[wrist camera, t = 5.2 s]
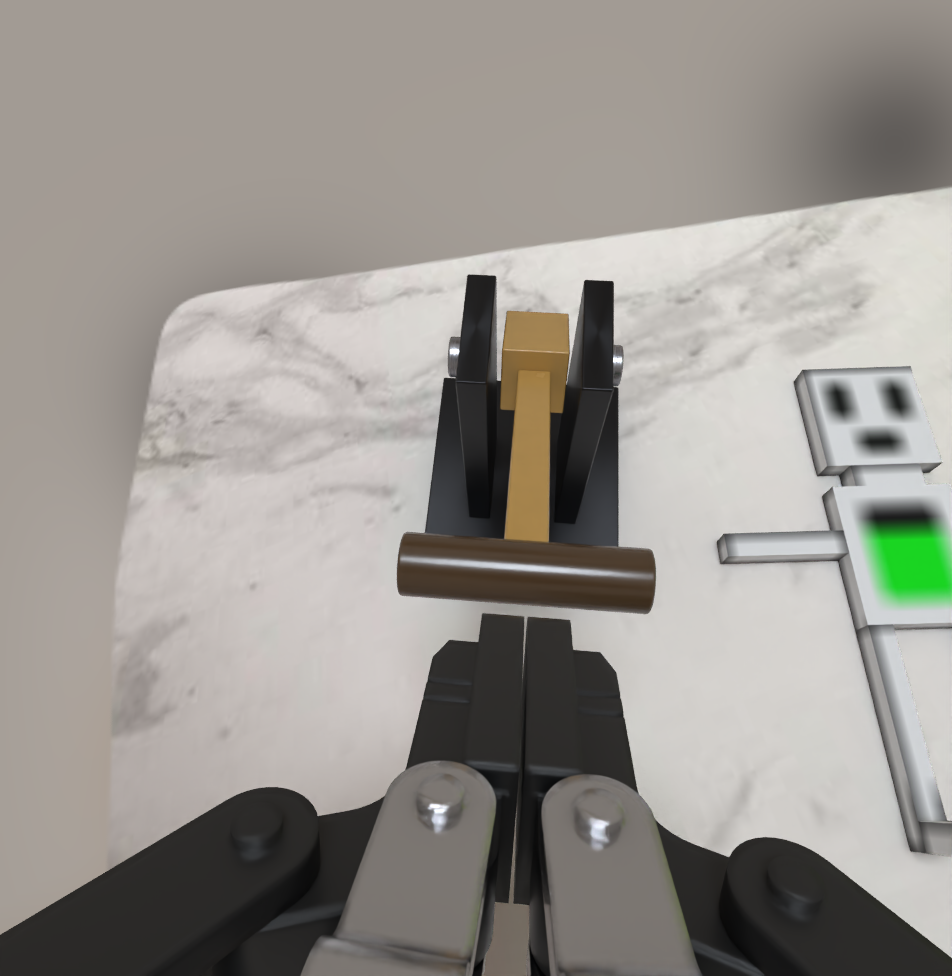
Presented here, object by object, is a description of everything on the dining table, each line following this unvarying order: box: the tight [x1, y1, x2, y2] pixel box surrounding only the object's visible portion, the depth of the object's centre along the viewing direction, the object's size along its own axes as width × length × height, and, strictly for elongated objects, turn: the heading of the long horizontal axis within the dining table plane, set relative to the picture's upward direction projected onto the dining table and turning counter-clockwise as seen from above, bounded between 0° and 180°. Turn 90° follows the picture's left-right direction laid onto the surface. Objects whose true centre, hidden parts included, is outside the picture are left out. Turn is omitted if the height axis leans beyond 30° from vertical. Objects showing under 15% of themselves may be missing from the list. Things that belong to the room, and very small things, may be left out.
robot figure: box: [717, 366, 952, 857], centre depth 30 cm, size 16×3×22 cm
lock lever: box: [397, 311, 656, 614], centre depth 21 cm, size 12×6×2 cm, turn 175°
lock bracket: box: [425, 275, 623, 547], centre depth 28 cm, size 11×9×13 cm
